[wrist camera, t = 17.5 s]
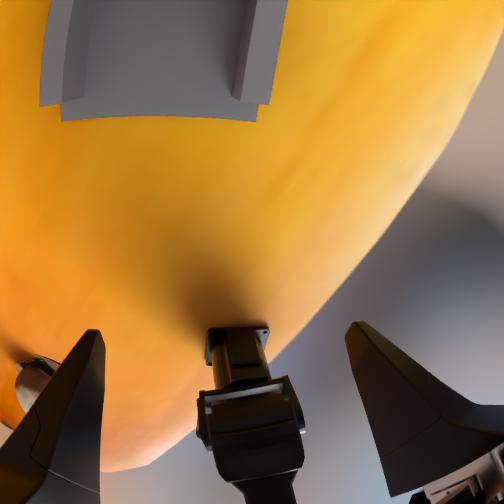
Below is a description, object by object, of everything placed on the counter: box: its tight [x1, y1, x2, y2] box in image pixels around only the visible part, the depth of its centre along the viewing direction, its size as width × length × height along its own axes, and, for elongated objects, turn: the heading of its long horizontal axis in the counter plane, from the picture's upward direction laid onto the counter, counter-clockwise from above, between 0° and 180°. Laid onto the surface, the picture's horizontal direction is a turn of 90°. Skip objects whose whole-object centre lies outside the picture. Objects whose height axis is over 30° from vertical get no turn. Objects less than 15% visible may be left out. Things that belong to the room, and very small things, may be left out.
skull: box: [15, 354, 61, 413], centre depth 29 cm, size 12×10×10 cm
